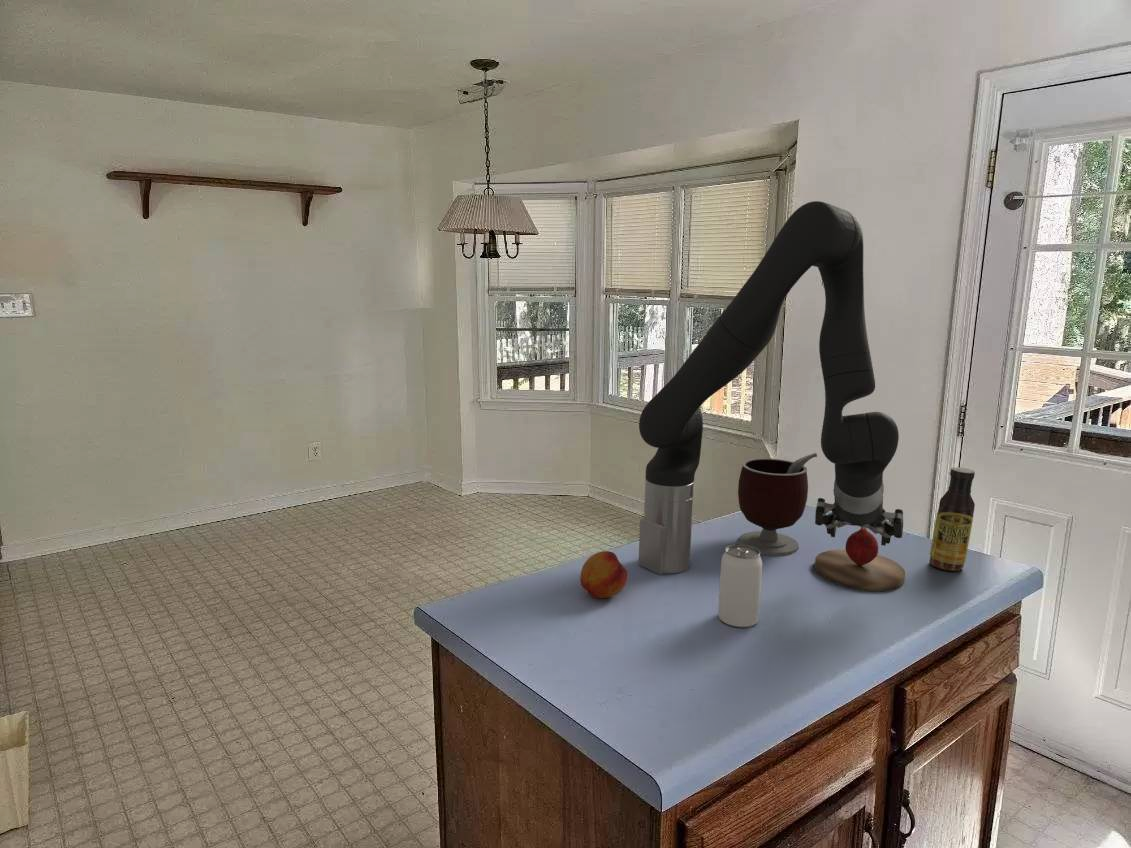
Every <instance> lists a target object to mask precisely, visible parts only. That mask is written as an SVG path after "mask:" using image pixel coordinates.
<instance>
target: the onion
mask: <svg viewBox="0 0 1131 848" xmlns="http://www.w3.org/2000/svg"><path fill="white" fill-rule="evenodd" d="M845 550H846V553H847V555H848V556H849V558H850V559H851V560H852V561H853V562H854V563H856V564H857V565H858V566H863V565H865V564H867V563H869V562H871V561H872V560H874V558H875V557H876V556H877V555H879V554H878V553H879V544H878V540H877V538H876V537H875V536H874V534H872V533H871V532H869V531H868V528H865V527H860V529H859V530H857V531H854V532H853V533H851V534H850V535H849V536H848V537H847V539H846V541H845Z"/></svg>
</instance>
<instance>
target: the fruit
mask: <svg viewBox="0 0 1131 848" xmlns="http://www.w3.org/2000/svg"><path fill="white" fill-rule="evenodd" d="M628 577H629V575H628V570H627V569H626V568H625V567H624V566H623V564H622V562H620V560H619V558H618V556H617V554H616V553H615V552H614V551H608V550H607V551H599V552H596V553H594V554H593V555H591V556H589V557H588V559H587V560H586V561H585V562H584V564H583V565H582V567H581V571H580V576H579V579H580V581H579V582H580V585H581V587H582V588H583V589H584V590H585V591H586V592H587V593H588V594H589V595H590V596H591V597H594V598H598V599H604V598H605V599H606V598H611V597H613V596H616V595H617V594H619V593H620V592H622V590H623V589H624V587H625V586H626V582H627V581H628Z"/></svg>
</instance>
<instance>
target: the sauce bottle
mask: <svg viewBox="0 0 1131 848" xmlns="http://www.w3.org/2000/svg"><path fill="white" fill-rule="evenodd" d="M949 475H950V479H949V486H948V488H947V489H948V490H947V491H946V492H945V493H944V494H943V495H942V497H941V498H940V500H939V505H938V508H937V509H938V510H937V513H936V516H935V517H936V518H935V522H934V527H933V533H932V541H931V546H930V553H929V563H930V565H931V566H933V567H935V568H937V569H940V570H943V571H947V572H960V571H961V570H962V569H963V568H964V566H965V563H966V559H967V554H968V549H969V543H970V538H971V533H972V526H973V521H974V513H975V506H976V504H975V501H974V499H973V497H972V494H971V493H972V485H973V481H974V478H975V475H976V474H975V470H972V469H969V468H966V467H959V466H955V467H951V469H950V472H949Z"/></svg>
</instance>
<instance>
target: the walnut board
mask: <svg viewBox="0 0 1131 848" xmlns="http://www.w3.org/2000/svg"><path fill="white" fill-rule="evenodd" d="M814 569H815V572H816V573H817V574H819V576H820V577H822V578H824V579H825V580H827V581H830V582H831V583H833V584H836V585H839V586H843V587H845V588H850V589H851V588H852V589H855V590H861V591H869V592H870V591H871V592H875V591H876V592H880V591H881V592H882V591H883V592H885V591H891V590H895V589H898V588H900V587H901V586H903V585H904V583H905V578H906V571H905V569H904V567H903V566H901V565H900V564H899V563H898V562H896V561H894V560H892V559H890V558H887V557H886V556H883V555H879V554H877V556H876V557H875V558H874V560H872V561H871V562H869V563H867V564H865V565H863V566H858V565H857V564H856V563H854V562H853V561H852V560H851V559H850V558H849V556H848V555H847V553H846V549H832V550H826V551H823V552H820V553H818V554H817V555H815V561H814Z"/></svg>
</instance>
